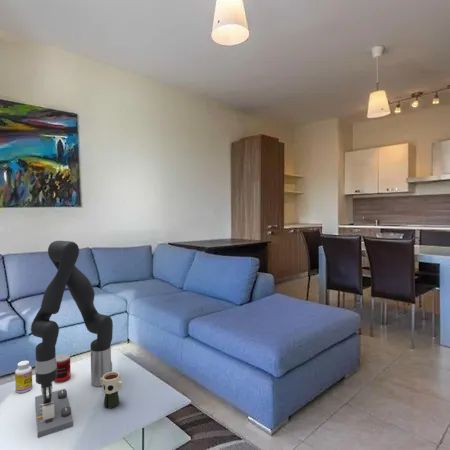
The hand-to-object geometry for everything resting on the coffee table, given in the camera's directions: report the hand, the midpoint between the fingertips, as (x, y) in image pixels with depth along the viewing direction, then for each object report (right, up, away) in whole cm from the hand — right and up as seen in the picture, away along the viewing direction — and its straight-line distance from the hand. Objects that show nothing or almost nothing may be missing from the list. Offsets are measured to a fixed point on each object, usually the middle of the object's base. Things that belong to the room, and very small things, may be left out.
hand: (47, 409), depth 132 cm
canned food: (-8, -1, +29) cm, 30 cm away
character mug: (+23, -3, +8) cm, 25 cm away
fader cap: (+3, -1, -4) cm, 5 cm away
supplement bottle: (-21, -2, +19) cm, 29 cm away
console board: (+1, -3, +3) cm, 4 cm away
